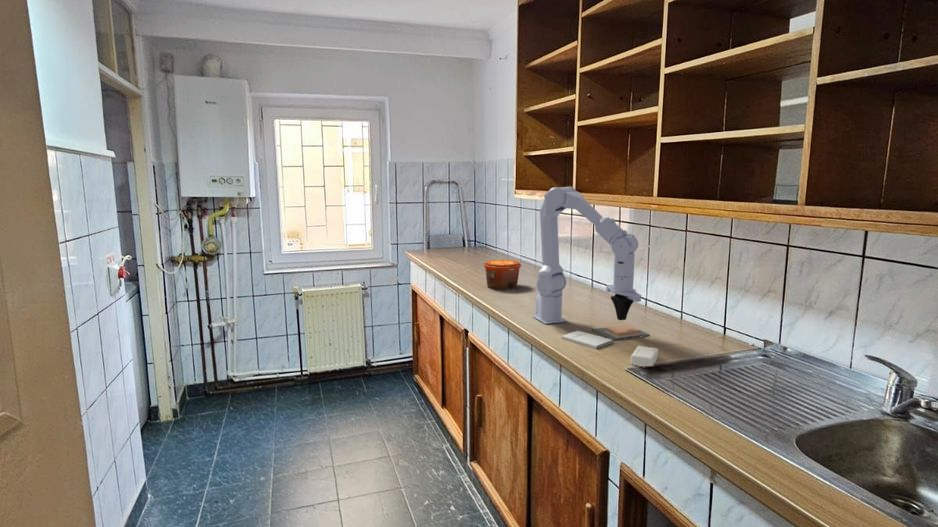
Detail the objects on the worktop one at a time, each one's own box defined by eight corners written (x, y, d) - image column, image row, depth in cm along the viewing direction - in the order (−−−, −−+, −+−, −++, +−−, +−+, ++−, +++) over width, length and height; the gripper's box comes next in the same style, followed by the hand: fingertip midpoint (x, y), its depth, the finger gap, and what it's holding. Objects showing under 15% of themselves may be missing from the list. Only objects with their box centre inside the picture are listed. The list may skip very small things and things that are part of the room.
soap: (652, 370, 130) (652, 358, 129) (629, 366, 132) (630, 354, 132) (658, 358, 137) (659, 347, 137) (637, 355, 140) (637, 344, 139)
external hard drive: (596, 351, 144) (561, 340, 153) (613, 345, 149) (578, 334, 159) (596, 345, 144) (561, 335, 153) (613, 339, 149) (578, 329, 158)
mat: (591, 330, 161) (591, 329, 161) (628, 326, 165) (628, 324, 165) (611, 340, 151) (611, 339, 151) (649, 335, 155) (649, 334, 155)
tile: (605, 327, 158) (617, 332, 152) (627, 324, 160) (640, 330, 155) (605, 332, 158) (617, 337, 152) (627, 329, 161) (639, 334, 155)
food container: (502, 281, 234) (503, 257, 232) (528, 287, 222) (528, 262, 220) (476, 286, 224) (476, 261, 222) (501, 292, 212) (501, 267, 210)
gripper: (650, 279, 149) (648, 324, 151) (620, 270, 162) (618, 312, 165) (630, 280, 146) (627, 327, 149) (601, 271, 160) (599, 314, 162)
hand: (621, 319), depth 157 cm, fingers closed
